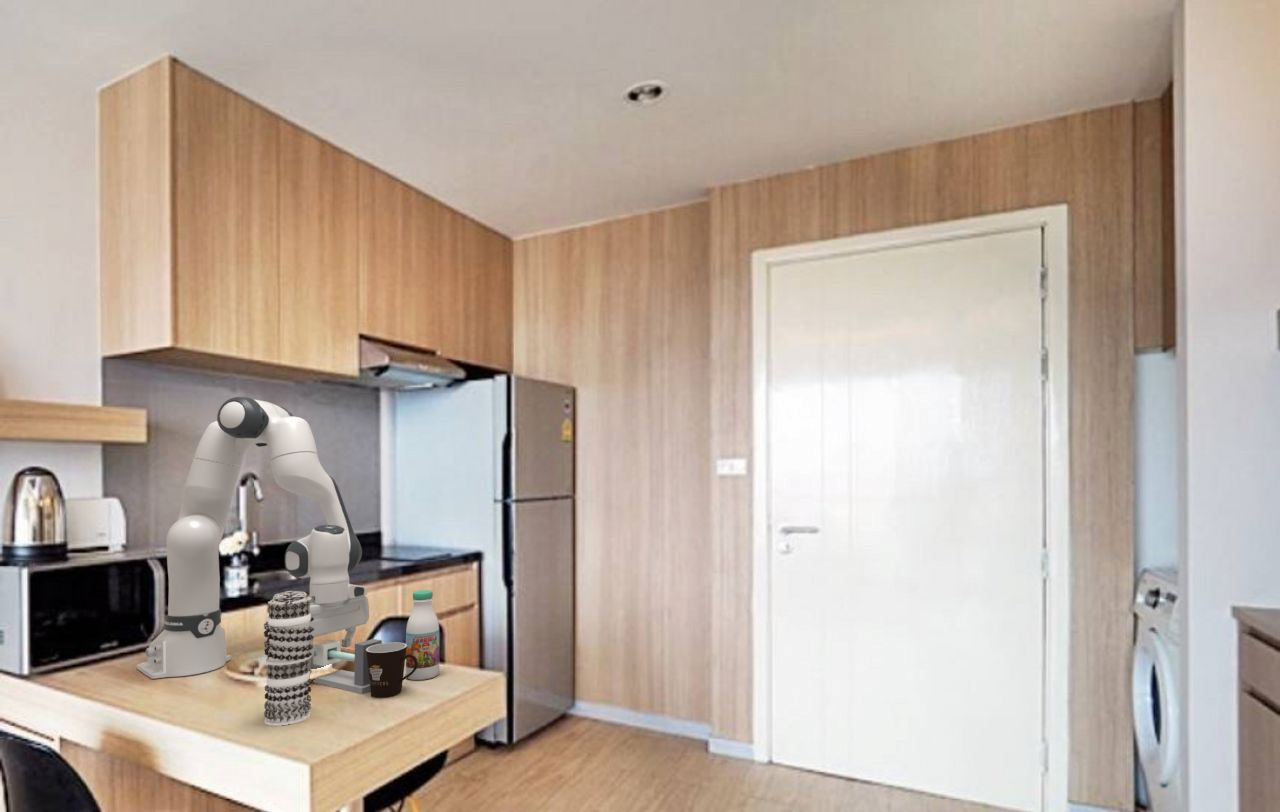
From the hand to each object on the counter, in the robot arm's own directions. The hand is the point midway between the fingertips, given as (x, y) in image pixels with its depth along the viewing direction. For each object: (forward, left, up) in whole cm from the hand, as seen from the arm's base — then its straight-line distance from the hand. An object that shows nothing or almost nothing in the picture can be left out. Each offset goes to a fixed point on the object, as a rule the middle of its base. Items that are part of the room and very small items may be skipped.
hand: (329, 651), depth 169 cm
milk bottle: (+19, +11, -6) cm, 23 cm away
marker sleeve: (0, -1, -2) cm, 3 cm away
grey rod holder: (+6, -1, -6) cm, 9 cm away
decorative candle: (+16, -21, -6) cm, 28 cm away
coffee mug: (+23, -2, -6) cm, 24 cm away
